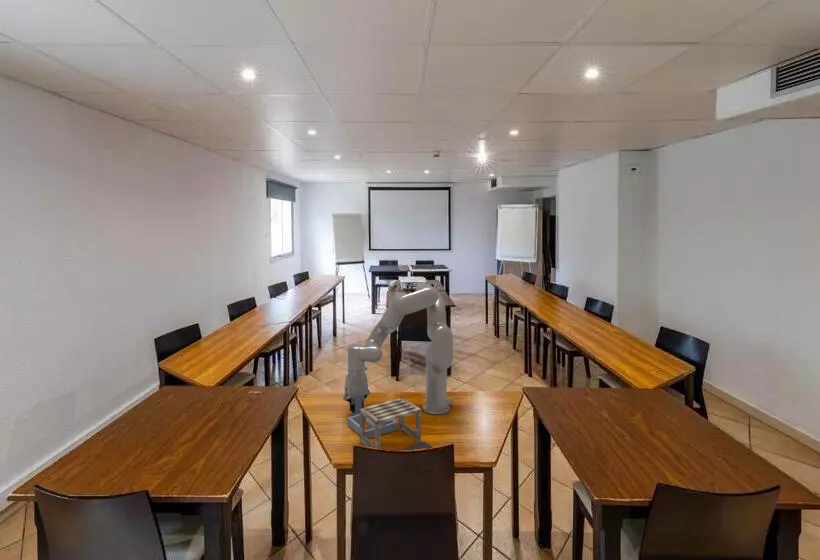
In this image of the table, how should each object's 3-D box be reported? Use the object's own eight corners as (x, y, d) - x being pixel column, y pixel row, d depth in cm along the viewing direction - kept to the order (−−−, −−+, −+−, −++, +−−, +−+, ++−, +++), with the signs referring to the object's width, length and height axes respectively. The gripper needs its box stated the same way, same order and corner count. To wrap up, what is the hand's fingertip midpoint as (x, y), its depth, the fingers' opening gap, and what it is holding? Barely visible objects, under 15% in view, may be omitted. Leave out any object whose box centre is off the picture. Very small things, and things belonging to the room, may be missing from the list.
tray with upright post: (370, 409, 198) (370, 390, 197) (398, 429, 178) (398, 409, 177) (339, 417, 189) (338, 398, 188) (364, 439, 169) (364, 418, 168)
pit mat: (424, 442, 168) (424, 441, 168) (431, 447, 164) (431, 446, 164) (399, 450, 161) (399, 449, 161) (406, 456, 157) (406, 455, 157)
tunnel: (402, 428, 180) (402, 397, 178) (420, 441, 169) (421, 409, 167) (359, 441, 168) (359, 408, 167) (376, 456, 157) (376, 421, 156)
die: (375, 438, 172) (390, 417, 173) (359, 424, 175) (373, 404, 176) (380, 436, 180) (394, 416, 181) (364, 423, 183) (378, 403, 184)
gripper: (368, 366, 198) (368, 403, 200) (335, 372, 188) (336, 412, 190) (376, 370, 191) (376, 409, 194) (343, 377, 182) (343, 418, 184)
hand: (356, 410), depth 192 cm, fingers closed on tray with upright post, 3 cm apart
